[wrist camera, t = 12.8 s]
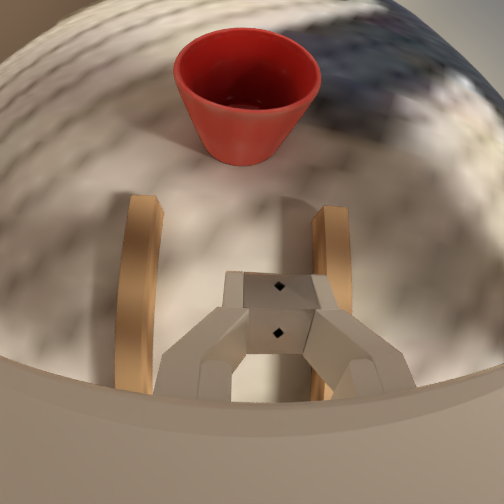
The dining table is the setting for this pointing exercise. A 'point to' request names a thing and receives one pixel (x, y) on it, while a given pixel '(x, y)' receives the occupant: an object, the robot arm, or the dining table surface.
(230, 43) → the flower pot
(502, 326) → the dining table surface
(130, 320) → the brown wooden u-shaped frame
